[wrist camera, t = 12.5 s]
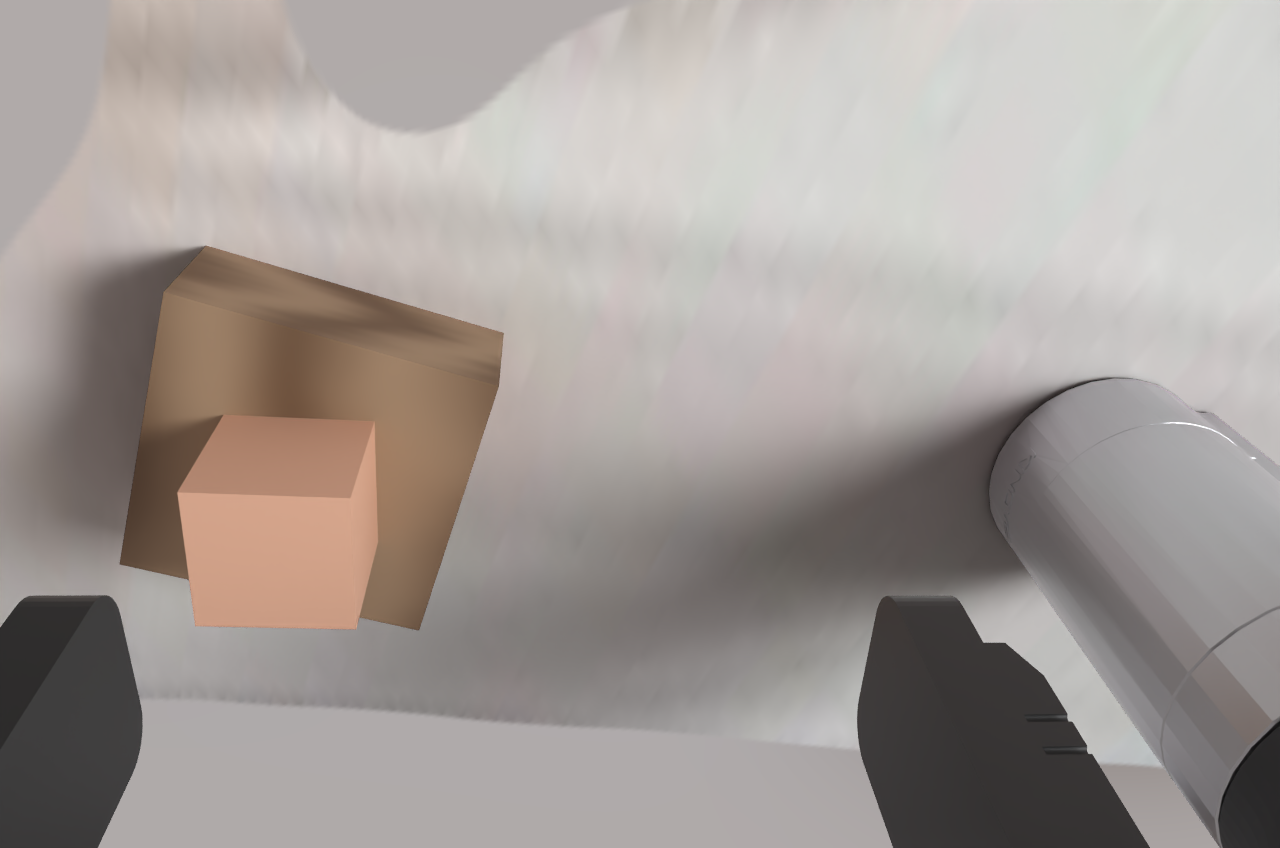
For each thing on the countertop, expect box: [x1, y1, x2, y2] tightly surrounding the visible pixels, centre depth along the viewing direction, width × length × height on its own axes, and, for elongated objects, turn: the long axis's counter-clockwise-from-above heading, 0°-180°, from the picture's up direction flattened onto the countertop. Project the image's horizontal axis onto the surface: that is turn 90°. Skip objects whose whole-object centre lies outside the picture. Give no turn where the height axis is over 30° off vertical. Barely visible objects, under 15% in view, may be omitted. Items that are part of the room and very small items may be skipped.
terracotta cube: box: [177, 415, 378, 629], centre depth 34 cm, size 5×5×5 cm
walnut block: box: [120, 246, 504, 630], centre depth 38 cm, size 11×11×5 cm
